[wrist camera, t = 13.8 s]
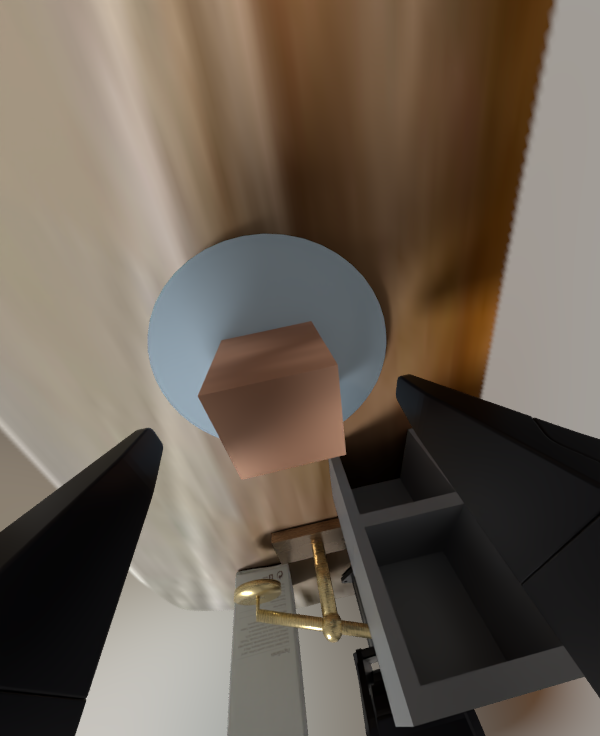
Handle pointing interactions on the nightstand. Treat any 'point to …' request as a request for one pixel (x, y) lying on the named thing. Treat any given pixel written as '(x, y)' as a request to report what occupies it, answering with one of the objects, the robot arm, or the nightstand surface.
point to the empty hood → (399, 507)
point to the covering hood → (455, 628)
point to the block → (275, 400)
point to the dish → (263, 314)
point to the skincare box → (266, 666)
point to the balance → (316, 544)
